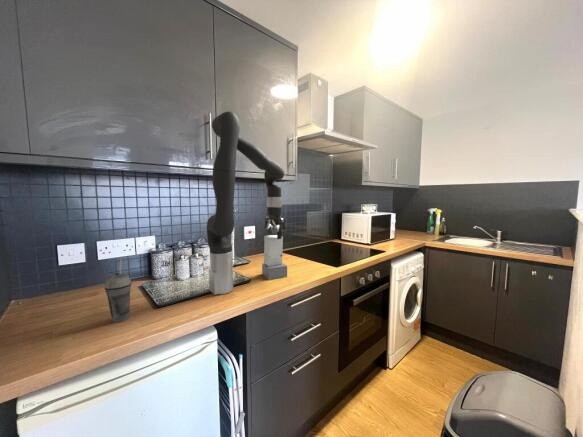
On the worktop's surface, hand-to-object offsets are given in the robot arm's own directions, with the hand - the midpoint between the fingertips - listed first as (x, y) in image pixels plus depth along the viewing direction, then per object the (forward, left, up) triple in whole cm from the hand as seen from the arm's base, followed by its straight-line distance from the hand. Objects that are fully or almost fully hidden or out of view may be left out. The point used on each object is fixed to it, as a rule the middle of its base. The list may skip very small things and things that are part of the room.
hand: (274, 237), depth 119 cm
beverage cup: (-65, -2, -20) cm, 68 cm away
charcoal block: (0, 0, -20) cm, 20 cm away
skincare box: (0, +1, -14) cm, 14 cm away
